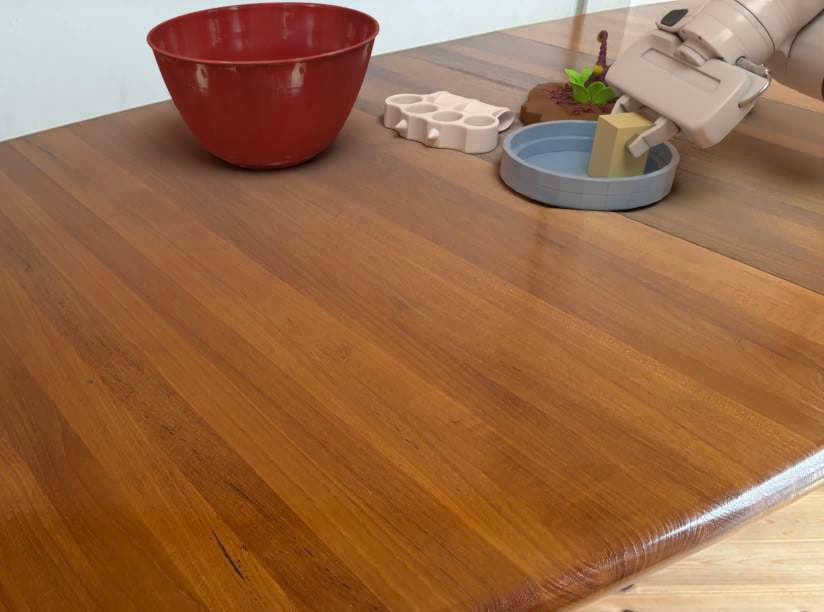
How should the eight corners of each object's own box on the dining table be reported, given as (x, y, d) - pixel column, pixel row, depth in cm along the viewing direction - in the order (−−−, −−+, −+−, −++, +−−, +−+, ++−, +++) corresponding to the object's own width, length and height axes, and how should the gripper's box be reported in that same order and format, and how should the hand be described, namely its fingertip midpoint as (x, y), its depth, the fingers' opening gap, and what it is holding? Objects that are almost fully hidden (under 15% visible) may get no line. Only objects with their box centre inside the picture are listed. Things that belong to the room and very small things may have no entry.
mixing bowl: (203, 211, 95) (190, 72, 85) (135, 135, 116) (119, 16, 106) (414, 167, 103) (423, 36, 94) (315, 104, 124) (315, -8, 115)
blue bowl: (656, 154, 104) (664, 123, 102) (683, 220, 89) (694, 185, 87) (498, 147, 108) (503, 117, 105) (499, 209, 93) (504, 175, 90)
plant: (653, 98, 122) (673, 17, 115) (680, 145, 107) (704, 54, 100) (515, 95, 125) (526, 15, 118) (522, 140, 110) (535, 52, 103)
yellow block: (621, 170, 99) (634, 111, 95) (641, 184, 96) (655, 124, 91) (586, 173, 99) (598, 115, 94) (604, 188, 95) (618, 128, 91)
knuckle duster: (532, 134, 111) (462, 163, 104) (430, 105, 122) (361, 129, 115) (535, 109, 109) (465, 136, 102) (432, 82, 120) (362, 104, 113)
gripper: (794, 95, 83) (679, 195, 88) (682, 44, 99) (589, 131, 104) (769, 51, 80) (651, 158, 85) (657, 6, 96) (563, 98, 101)
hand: (616, 142), depth 94 cm, fingers closed on yellow block, 4 cm apart
